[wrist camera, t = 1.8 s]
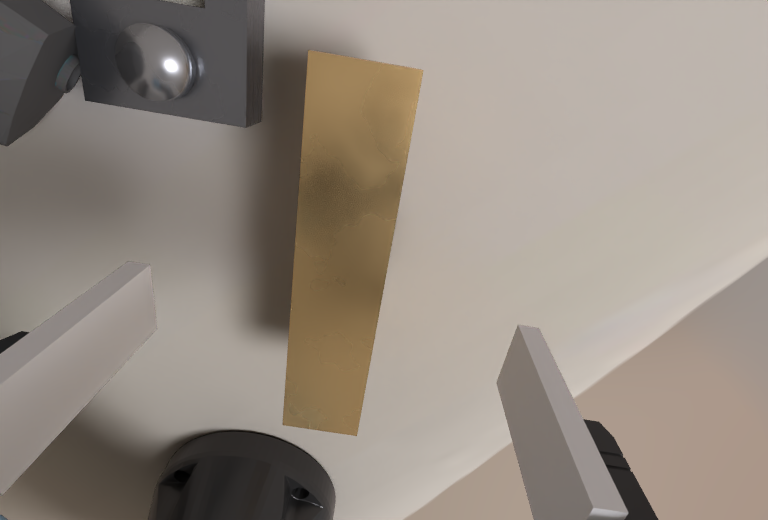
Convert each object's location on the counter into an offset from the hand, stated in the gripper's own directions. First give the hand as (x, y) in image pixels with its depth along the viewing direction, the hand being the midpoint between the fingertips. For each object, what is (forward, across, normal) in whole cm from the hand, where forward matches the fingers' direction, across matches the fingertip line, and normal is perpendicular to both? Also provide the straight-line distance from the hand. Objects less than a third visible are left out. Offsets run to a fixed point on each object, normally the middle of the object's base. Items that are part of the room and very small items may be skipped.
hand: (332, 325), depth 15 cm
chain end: (+11, +10, -10) cm, 18 cm away
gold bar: (+11, 0, 0) cm, 11 cm away
